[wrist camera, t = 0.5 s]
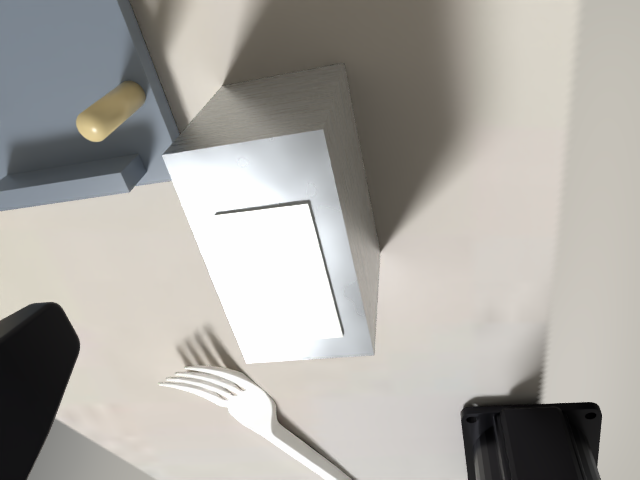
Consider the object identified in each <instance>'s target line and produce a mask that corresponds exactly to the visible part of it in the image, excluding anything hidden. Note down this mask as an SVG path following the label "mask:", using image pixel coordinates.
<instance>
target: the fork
mask: <svg viewBox="0 0 640 480" xmlns="http://www.w3.org/2000/svg"><path fill="white" fill-rule="evenodd" d="M184 369H189V370H196V371H201V372H206V373H210V374H206V373H199V372H176V373H175V375H178V376H186V377H168V378H166V380H167V381H176V382H159V383H158V385H160V386H167V387H172V388H177V389H180V390H184V391H188V392H191V393H193V394H196V395H198V396H201V397H203V398H205V399H207V400H209V401H211V402H213V403H215V404H217V405H218V406H221V407H228V409H229V410H228V412H229V413H230V414H231V415H232V416H233V417H234V418H235V419H237V420H238V421H239V422H240V423H241V424H243V425H244V426H246V427H247V428H249V429H251V430H253V431H254V432H256V433H258V434H259V435H261V436H263V437H264V438H266V439H267V440H268V441H270V442H271V443H273V444H274V445H276V446H277V447H279V448H280V449H282V450H283V451H284V452H286V453H287V454H289V455H290V456H292V457H293V458H295V459H296V460H298V461H299V462H301V463H302V464H303V465H305V466H306V467H308V468H309V469H311V470H312V471H314V472H315V473H317V474H318V475H319V476H321V477H322V478H324V479H325V480H352V479H351V478H350V477H348V476H347V475H346V474H345V473H344V472H342V471H341V470H340V469H339V468H338V467H336V466H335V465H334V464H332V463H331V462H330V461H328V460H327V459H326V458H324V457H323V456H322V455H320V454H319V453H318V452H316V451H315V450H314V449H312V448H311V447H310V446H308V445H307V444H306V443H304V442H303V441H302V440H300V439H299V438H298V437H296V436H295V435H294V434H292V433H291V432H290V431H288V430H287V429H286V428H284V427H283V426H282V425H280V424H279V422H278V421H277V416H276V404H275V402H274V401H273V399H272V398H271V397H270V396H269V395H268V394H267V393H266V392H265V391H264V390H263V389H262V388H260V387H259V386H258V385H257V384H255V383H254V382H253V381H252V380H250V379H249V378H248V377H247V376H245V375H244V374H243V373H242V372H239V371H236V370H232V369H228V368H223V367H216V366H186V367H184ZM211 374H214V375H211ZM216 375H217V376H216ZM187 377H192V378H187ZM231 381H232V382H234V383H236V384H238V385H239V386H241V387H243V388H244V389H245V390H241V389H240V388H239V387H237V386H236V385H235V384H234V383H232V382H231ZM180 382H182V383H180ZM223 387H224V388H223ZM225 388H227V389H229V390H231V391H233V392H235V393H236V394H237V395H233V394H231V393H230V392H229V391H227V390H226V389H225ZM215 392H216V393H218V394H221V395H223V396H225V397H227V398H228V400H225V399H223V398H222V397H220V396H219V395H218V394H216V393H215Z"/></svg>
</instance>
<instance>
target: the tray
mask: <svg viewBox="0 0 640 480" xmlns="http://www.w3.org/2000/svg"><path fill="white" fill-rule="evenodd" d="M179 135H180V134H179V131H178V128H177V126H176V123H175V120H174V118H173V115H172V112H171V110H170V107H169V105H168V102H167V99H166V97H165V94H164V91H163V89H162V86H161V83H160V81H159V78H158V76H157V73H156V70H155V68H154V65H153V62H152V60H151V57H150V55H149V52H148V49H147V47H146V44H145V41H144V39H143V36H142V33H141V31H140V28H139V26H138V23H137V20H136V18H135V15H134V12H133V10H132V7H131V4H130V2H129V0H0V211H5V210H12V209H19V208H25V207H32V206H39V205H46V204H53V203H60V202H66V201H73V200H80V199H87V198H94V197H100V196H107V195H114V194H121V193H128V192H130V191H131V190H132V189H133V188H134V186H139V185H146V184H153V183H160V182H166V181H172V179H171V176H170V174H169V171H168V169H167V167H166V164H165V162H164V159H163V157H162V155H163V153H164V152H165V151H166V150H167V149H168V148H169V146H170V145H171V144H172V143H173V142H174V141H175V140H176V138H177V137H178V136H179Z"/></svg>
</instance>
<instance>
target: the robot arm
mask: <svg viewBox="0 0 640 480" xmlns="http://www.w3.org/2000/svg"><path fill="white" fill-rule="evenodd" d="M79 351H80V341H79V338H78V336H77V334H76V332H75V330H74V328H73V326H72V325H71V323H70V321H69V319H68V317H67V316H66V314H65V312H64V310H63V309H62V307H61V306H60V305H58V304H57V303H54V302H45V303H34V304H30V305H28V306H26V307H24V308H23V309H21V310H19V311H17V312H15V313H13V314H12V315H10V316H8V317H6V318H4V319H2V320H1V321H0V480H27V478H28V476H29V474H30V472H31V470H32V468H33V466H34V464H35V462H36V460H37V458H38V456H39V454H40V451H41V449H42V447H43V445H44V443H45V441H46V439H47V436H48V434H49V432H50V429H51V427H52V424H53V422H54V419H55V416H56V414H57V411H58V408H59V406H60V403H61V400H62V398H63V395H64V392H65V389H66V387H67V384H68V381H69V379H70V376H71V373H72V371H73V368H74V365H75V363H76V360H77V357H78V355H79ZM601 420H602V414H601V410H600V408H599V406H598V405H597V404H595V403H592V402H582V403H557V404H532V405H506V406H481V407H467V408H464V409H463V410H462V411H461V422H462V431H463V439H464V448H465V456H466V465H467V473H468V480H601V478H600V475H599V472H598V469H597V463H598V453H599V442H600V432H601Z"/></svg>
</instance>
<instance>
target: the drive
mask: <svg viewBox="0 0 640 480" xmlns="http://www.w3.org/2000/svg"><path fill="white" fill-rule="evenodd" d="M162 157H163V159H164V162H165V164H166V167H167V169H168V171H169V174H170V176H171V179H172V181H173V184H174V186H175V189H176V191H177V194H178V196H179V198H180V201H181V203H182V206H183V208H184V211H185V213H186V216H187V218H188V221H189V223H190V226H191V228H192V230H193V233H194V235H195V238H196V240H197V243H198V245H199V248H200V250H201V253H202V255H203V257H204V260H205V262H206V265H207V267H208V270H209V272H210V275H211V277H212V280H213V282H214V284H215V287H216V289H217V292H218V294H219V297H220V299H221V302H222V304H223V307H224V309H225V311H226V314H227V316H228V319H229V321H230V324H231V326H232V329H233V331H234V334H235V336H236V338H237V341H238V343H239V346H240V348H241V351H242V353H243V356H244V358H245V361H246V363H258V362H274V361H290V360H306V359H322V358H338V357H354V356H371V355H374V353H375V336H376V319H377V302H378V285H379V268H380V247H379V242H378V237H377V232H376V227H375V221H374V216H373V211H372V206H371V200H370V195H369V190H368V185H367V179H366V174H365V169H364V164H363V159H362V153H361V148H360V143H359V138H358V132H357V127H356V122H355V117H354V111H353V106H352V101H351V96H350V91H349V85H348V80H347V75H346V70H345V64H344V63H341V64H335V65H330V66H325V67H320V68H314V69H309V70H304V71H298V72H293V73H288V74H282V75H277V76H272V77H266V78H261V79H256V80H250V81H245V82H240V83H235V84H229V85H224V86H222V87H221V88H220V89H219V90H218V91H217V93H216V94H215V95H214V96H213V97H212V98H211V99H210V101H209V102H208V103H207V104H206V105H205V106H204V107H203V109H202V110H201V111H200V112H199V113H198V114H197V115H196V117H195V118H194V119H193V120H192V121H191V122H190V124H189V125H188V126H187V127H186V128H185V129H184V130H183V132H182V133H181V134H180V135H179V136H178V137H177V138H176V140H175V141H174V142H173V143H172V144H171V145H170V146H169V148H168V149H167V150H166V151H165V152H164V153H163V155H162Z"/></svg>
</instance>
